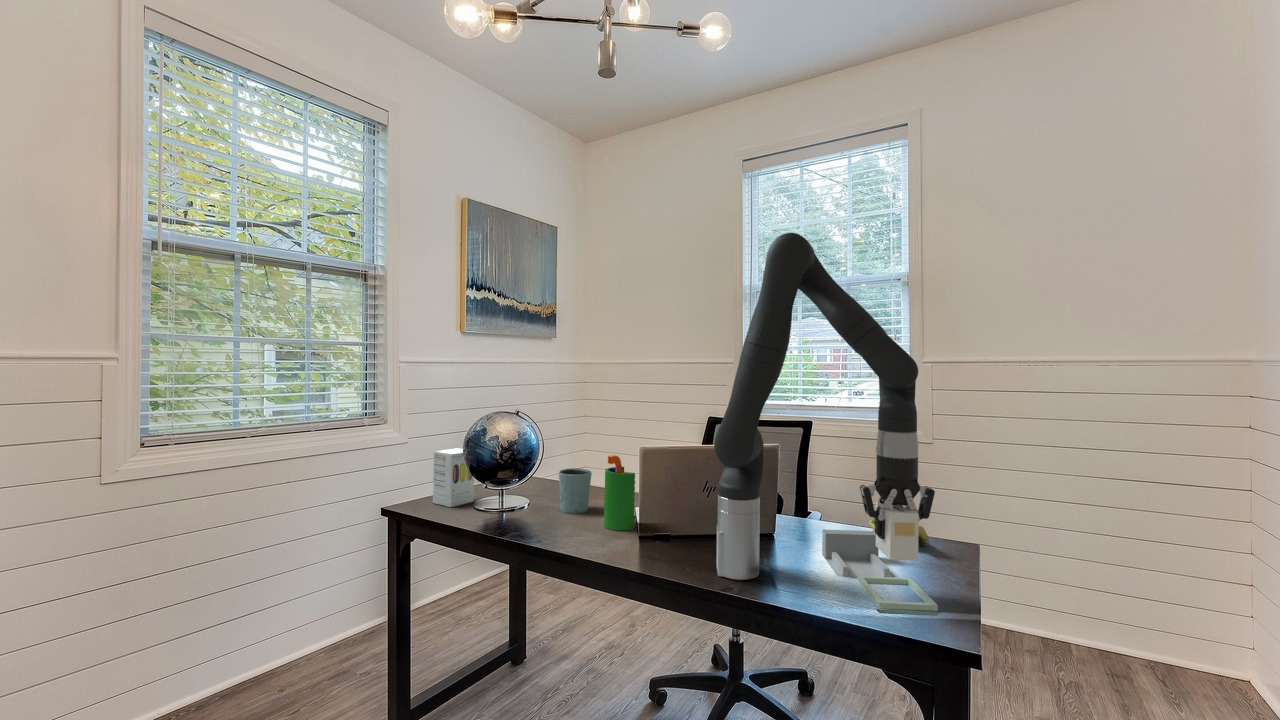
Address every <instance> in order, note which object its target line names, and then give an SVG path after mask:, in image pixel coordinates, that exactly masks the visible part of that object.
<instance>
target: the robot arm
mask: <svg viewBox="0 0 1280 720" xmlns="http://www.w3.org/2000/svg"><path fill="white" fill-rule="evenodd" d="M798 290H799V291H801V292H802V293H803V294H804V295H805V296H806V297H807V298H808V299H809V300H810V301H811V302H812V304H814V305H815V306H816V308H817V309H818V310H819V311H820V312H821V315H823V316H824V317H825V319H826V320H827V322H828V323H829V324H830V325H831V327H832V328H833V330H835V332H836V333H837V334H838V335H839V336H840V337H841V338H842V340H843V341H844V342H845V343H847V345H848V346H849V347H850V348H851V349H852V350H853V351H854V352H855V353H856V354H858V355H859V356H860V357H861V358H862V359H863V360H864V361H865V363H866V364H867V365H868V367H869V368H870V369H871V370H872V371H873V373H875V375H876V376H877V377H878V388H879V389H878V390H879V404H878V413H877V418H878V419H877V428H878V429H877V438H876V448H875V451H876V465H875V466H876V470H875V471H876V472H875V473H876V478H875V481H874V483H873V484H869V485H865V484H861V485H859V486H860V487H859V490H860V495H861V500H862V503H863V509H864V512H865V514H866V515H868V516H869V517H870V518H873V519H874V518H875V533H876V535H878V537H879V538H880V539H885V521H884V518H885V510H889V509H890V507H891V505H897V504H901V505H903V506H905V507H906V508H908V509H909V510H914V511H915V512H917V513H918V514H919V521H921V520H923V519H924V520H927V519H930V514H931V511H932V506H933V502H934V498H935V493H936V491H935V490H934V489H933V488H931V487H929V486H922V485H920V483H919V481H918V480H919V440H918V411H917V405H916V383H917V379H918V376H919V366H918V364H917V362H916V361H915V360H914V358H913V357H912V356H911V355H910V354H909V353H907V351H905V350H904V348H903V347H902V346H900V345H899V343H897V342H896V341H895V340H894V339H892V337H890V336H889V334H888V333H887V332H886V330H885V329H884V328H883V327H882V326H881V324H879V322H878V321H877V320H876V319H875V318H874V317H873V316H872V315H871V314H870V313H869V312H868V311H867V310H866V309H865V308H864V307H863V306H862V305H861V304H860V303H859V302H858V301H857V300H856V299H854V298H853V297H852V296H851V295H850V293H848V292H847V291H845V290H844V289H843V288H842V287H841V286H840V285H839V284H838V282H836V281H835V279H833V277H832V276H831V275H830V274H829V272H828V271H827V270H826V268H825V267H824V265H823V264H822V263H821V261H820V259H819V257H818V256H817V255H816V253H815V250H814V248H813V246H812V245H811V243H810V242H809V240H807V239H806V238H805V237H804V236H803V235H802V234H799V233H796V232H786V233H783V234H780V235H779V236H777V237H776V238H775V239H774V240H773V242H771V244H770V246H769V248H768V250H767V253H766V257H765V264H764V270H763V277H762V283H761V287H760V293H759V295H758V299H757V303H756V305H755V308H754V310H753V313H752V316H751V320H750V323H749V325H748V330H747V332H746V335H745V338H744V341H743V346H742V350H741V353H740V356H739V357H740V358H739V361H738V365H737V370H736V373H735V377H734V381H733V385H732V388H731V389H732V391H731V394H730V398H729V402H728V405H727V408H726V410H725V412H724V415H723V418H722V420H721V423H720V426H719V428H718V430H717V432H716V435H715V438H714V443H713V445H714V447H713V448H714V453H715V456H716V458H717V459H718V461H719V462H720V464H722V472H721V474H720V475H721V476H720V478H719V481H718V484H717V524H716V564H715V565H716V572H717V577H724V578H728V579H731V580H738V581H743V580H744V581H745V580H752V579H755V578H757V577H759V575H760V517H761V516H760V514H761V511H760V509H761V508H760V507H761V504H760V503H761V487H762V483H763V477H764V476H763V475H764V439H763V435H762V433H761V432H760V430H759V429H758V428H759V427H758V426H759V422H760V418H761V416H762V412H763V409H764V407H765V404H766V402H767V401H768V399H769V397H770V395H771V394H772V391H773V390H774V388H775V386H776V384H777V381H778V379H779V377H780V375H781V372H782V370H783V366H784V363H785V359H786V356H787V352H788V349H789V344H790V339H791V330H792V320H793V319H792V316H793V309H794V304H795V299H796V296H797V294H798V292H799V291H798ZM875 491H876V493H878V495H879V498H878V500H877V502H878V503H877V508H876V507H874V503H873V499H872V498H873V497H874V495H875ZM918 493H919V496H920V500H919V505H918V508H917V506H916V503H915V501H914V498H915V497H916V496H917V495H918Z"/></svg>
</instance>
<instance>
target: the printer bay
mask: <svg viewBox="0 0 1280 720" xmlns="http://www.w3.org/2000/svg"><path fill="white" fill-rule="evenodd" d="M821 545H822V546H821V548H822V549H821V551H822V552H821V555H822V556H823V559H824V560H825V561H826V562H827V564H828V565H829V566H830V569H832V570H833V572H834V573H835V575H836V577H841V578H842V577H844V578H845V577H848V578H850V577H851V578H858V576H866V577H892V578H895V576H893V575H892V574H891V573H890V568H889V567H888V566H887V564H885V563H884V562H883V561H882V560H881V558H879V548H878V547H877V546H876V533H875V532H874V531H873V530H854V529H853V530H848V529H847V530H845V529H822V543H821Z"/></svg>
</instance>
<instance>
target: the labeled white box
mask: <svg viewBox="0 0 1280 720" xmlns="http://www.w3.org/2000/svg"><path fill="white" fill-rule="evenodd" d="M877 503H878V501H876V502H875V509H876V508H877ZM884 521H885V539H880V538H879V537H878V535H876V546H877V547H878V550H879V551H881V552H882V553H883V554H884V555H885V557H886V558H887V559H889V561H911V562H913V561H914V562H915V561H917V562H918V561H919V540H918V526H919V522H920V520H919V514H918V513H917V512H915V511H914V510H909V509H908V508H906V507H905V506H903V505H901V504H897V505H891V507H890V509H889V510H885V518H884Z"/></svg>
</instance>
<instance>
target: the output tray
mask: <svg viewBox="0 0 1280 720" xmlns="http://www.w3.org/2000/svg"><path fill="white" fill-rule="evenodd" d="M857 582H859V584H860V586H861V587H862V589H864V590H865V592H866V593H867V594H868V596H869V597H870V598H871V599H872V601H873V603H875V605H876V606H877V609H876V612H878V613H879V614H886V615H887V614H888V615H910V616H932V617H934V616H936V617H938V616H939V614H938V613H939V612H938V611H939V605H938V603H937V602H935V601H934V600H933V599H932V598H931V597H930V596H929V595H928V594H927V593H926V592H925V591H924V590H923V589H922V588H921V587H920V586H919V585H918V584H917V583H916V582H914V580H913V579H912V578H910V577H894V578H892V577H866V576H858V577H857ZM870 584H882V585H883V584H885V585H907V586H908V587H909V588H910V589H911V590H913V592H915V594H916V595H918V597H919V598H920V599H921V600H922V601H923V602H914V601H913V602H912V601H910V602H909V601H889V600H882V599H881V598H880V596H879V595H878V593H876V592H875V590H874V589H873V588H872V586H870ZM878 608H879V609H878Z"/></svg>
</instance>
